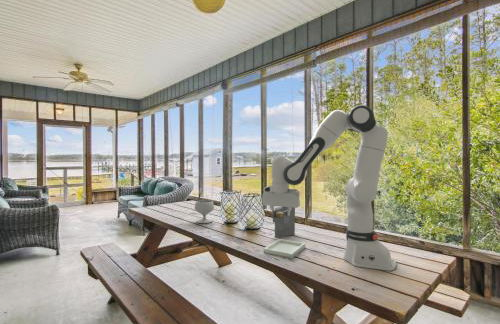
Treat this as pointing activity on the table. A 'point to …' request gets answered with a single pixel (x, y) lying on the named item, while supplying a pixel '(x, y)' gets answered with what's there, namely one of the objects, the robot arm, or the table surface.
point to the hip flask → (287, 227)
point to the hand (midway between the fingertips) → (280, 214)
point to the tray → (285, 248)
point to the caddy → (280, 220)
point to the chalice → (204, 209)
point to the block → (279, 214)
